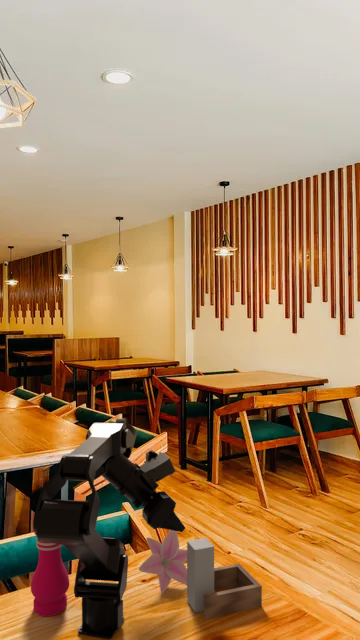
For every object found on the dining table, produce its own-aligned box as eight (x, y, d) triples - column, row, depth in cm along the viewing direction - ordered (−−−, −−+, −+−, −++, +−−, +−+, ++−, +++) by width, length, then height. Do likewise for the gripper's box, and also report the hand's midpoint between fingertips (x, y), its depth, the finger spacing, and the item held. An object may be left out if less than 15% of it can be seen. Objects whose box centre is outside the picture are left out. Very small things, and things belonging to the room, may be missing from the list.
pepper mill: (74, 597, 104) (73, 498, 104) (62, 619, 97) (61, 512, 97) (39, 595, 105) (38, 497, 105) (24, 617, 98) (23, 511, 97)
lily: (129, 597, 107) (143, 565, 103) (134, 550, 117) (147, 519, 114) (185, 610, 108) (201, 579, 104) (184, 562, 119) (199, 533, 115)
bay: (205, 619, 97) (205, 598, 97) (187, 593, 106) (187, 573, 106) (261, 606, 101) (261, 586, 101) (239, 582, 110) (239, 563, 110)
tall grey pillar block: (194, 612, 99) (194, 550, 99) (187, 601, 103) (187, 541, 103) (214, 608, 101) (214, 546, 100) (206, 597, 105) (205, 537, 104)
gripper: (165, 456, 97) (219, 506, 101) (137, 431, 114) (185, 475, 119) (123, 503, 95) (181, 553, 99) (102, 471, 112) (152, 515, 116)
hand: (175, 520), depth 108 cm, fingers open, 9 cm apart
